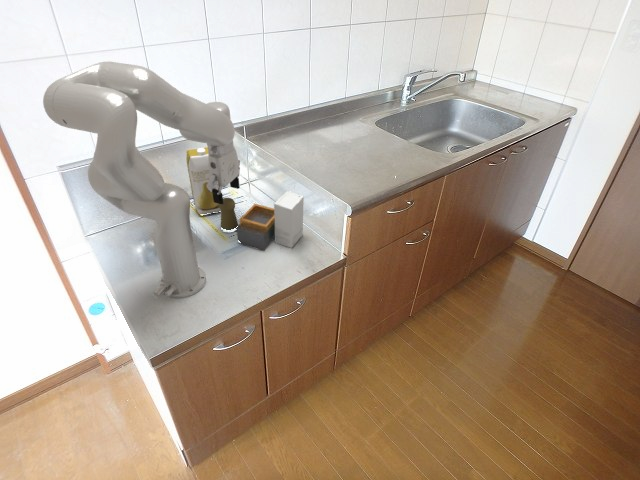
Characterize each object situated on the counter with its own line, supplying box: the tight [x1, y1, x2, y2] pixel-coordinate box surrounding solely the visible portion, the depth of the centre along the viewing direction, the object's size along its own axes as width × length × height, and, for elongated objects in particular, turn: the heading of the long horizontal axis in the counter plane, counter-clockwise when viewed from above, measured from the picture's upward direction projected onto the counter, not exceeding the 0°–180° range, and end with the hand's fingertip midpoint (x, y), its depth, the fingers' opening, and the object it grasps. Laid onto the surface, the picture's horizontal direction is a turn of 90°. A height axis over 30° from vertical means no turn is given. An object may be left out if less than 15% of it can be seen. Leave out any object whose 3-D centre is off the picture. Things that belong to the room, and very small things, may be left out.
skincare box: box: [273, 191, 305, 249], centre depth 130 cm, size 8×7×16 cm
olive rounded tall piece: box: [219, 197, 239, 230], centre depth 135 cm, size 6×6×11 cm
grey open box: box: [236, 203, 275, 252], centre depth 134 cm, size 14×10×8 cm
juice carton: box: [186, 146, 221, 214], centre depth 139 cm, size 9×8×24 cm
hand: (227, 195), depth 131 cm, fingers open, 9 cm apart
